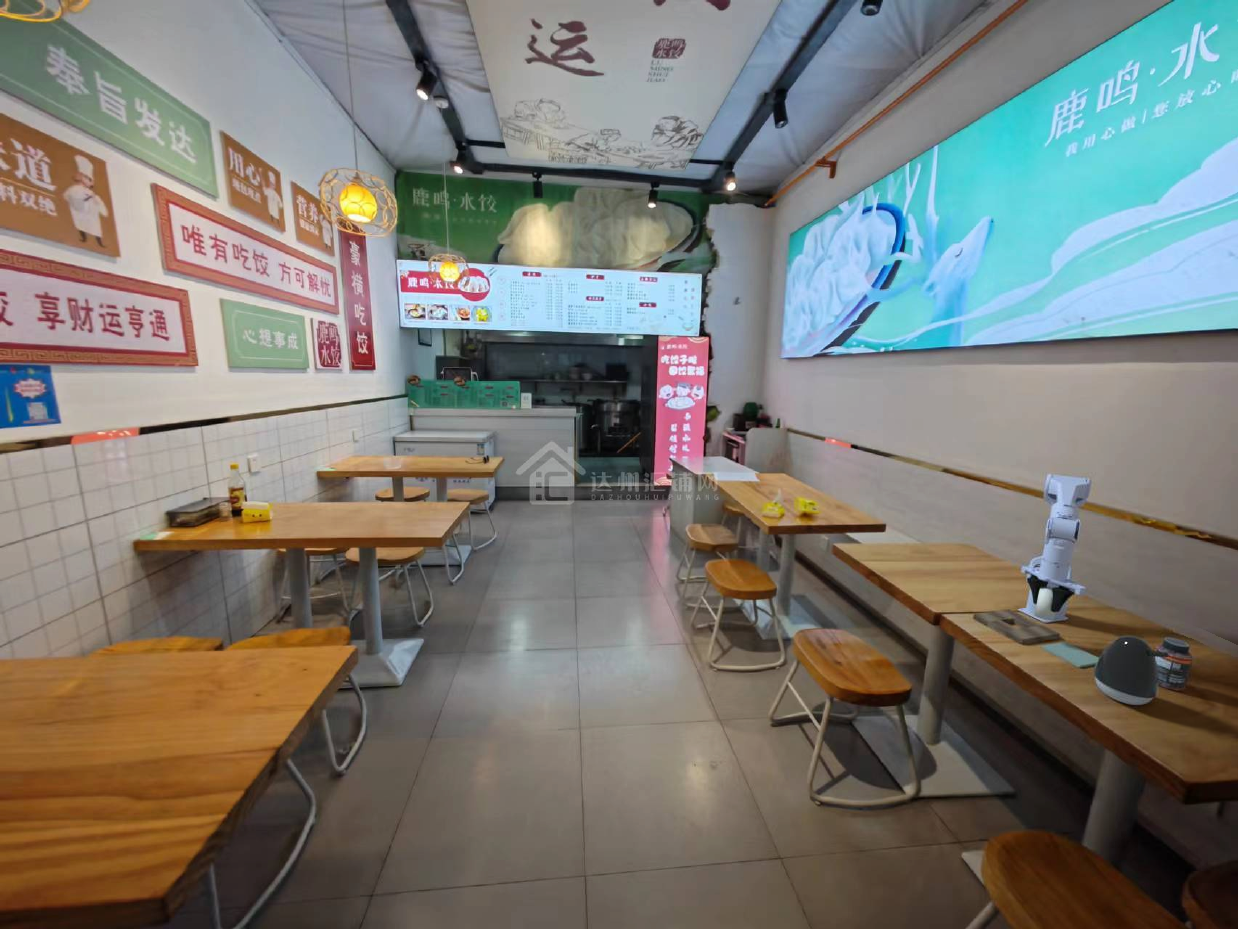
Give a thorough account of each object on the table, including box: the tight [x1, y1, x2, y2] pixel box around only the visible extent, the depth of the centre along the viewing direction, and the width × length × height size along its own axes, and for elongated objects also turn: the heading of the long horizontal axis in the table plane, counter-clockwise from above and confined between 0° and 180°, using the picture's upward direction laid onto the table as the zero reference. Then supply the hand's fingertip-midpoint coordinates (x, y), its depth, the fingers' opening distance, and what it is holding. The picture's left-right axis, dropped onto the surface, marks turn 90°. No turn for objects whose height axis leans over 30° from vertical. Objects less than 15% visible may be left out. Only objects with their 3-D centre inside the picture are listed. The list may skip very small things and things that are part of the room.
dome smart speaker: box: [1092, 635, 1169, 706], centre depth 108 cm, size 10×10×15 cm
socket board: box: [972, 609, 1061, 645], centre depth 139 cm, size 14×14×2 cm
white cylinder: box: [1035, 587, 1055, 620], centre depth 131 cm, size 4×4×8 cm
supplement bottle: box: [1154, 637, 1194, 692], centre depth 114 cm, size 6×6×11 cm
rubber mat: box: [1040, 641, 1100, 669], centre depth 126 cm, size 9×9×1 cm
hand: (1045, 607), depth 131 cm, fingers closed on white cylinder, 4 cm apart
